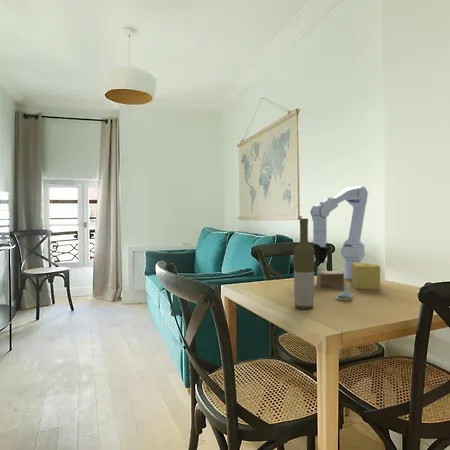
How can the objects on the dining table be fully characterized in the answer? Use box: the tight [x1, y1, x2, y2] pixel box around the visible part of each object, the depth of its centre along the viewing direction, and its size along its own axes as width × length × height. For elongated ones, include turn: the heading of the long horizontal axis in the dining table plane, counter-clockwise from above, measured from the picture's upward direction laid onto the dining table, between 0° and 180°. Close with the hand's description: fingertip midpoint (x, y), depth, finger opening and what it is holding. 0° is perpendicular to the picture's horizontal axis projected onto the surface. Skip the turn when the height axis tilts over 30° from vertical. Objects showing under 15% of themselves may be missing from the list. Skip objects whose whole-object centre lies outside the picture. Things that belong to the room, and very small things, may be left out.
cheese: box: [351, 262, 381, 290], centre depth 147 cm, size 10×11×10 cm
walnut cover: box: [316, 270, 345, 288], centre depth 148 cm, size 6×10×6 cm, turn 86°
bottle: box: [293, 218, 315, 310], centre depth 117 cm, size 7×7×30 cm
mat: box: [314, 283, 346, 290], centre depth 148 cm, size 9×13×1 cm
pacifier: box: [334, 282, 354, 301], centre depth 128 cm, size 7×6×6 cm
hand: (319, 261), depth 156 cm, fingers open, 7 cm apart
